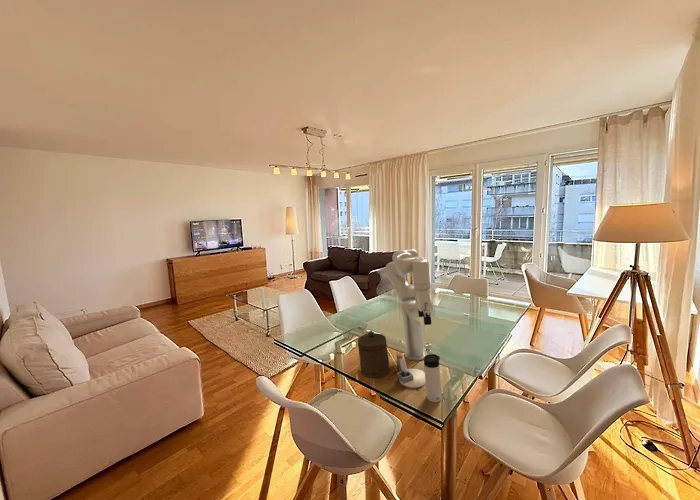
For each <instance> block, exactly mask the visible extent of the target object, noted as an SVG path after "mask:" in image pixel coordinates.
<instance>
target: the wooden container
mask: <svg viewBox="0 0 700 500" xmlns="http://www.w3.org/2000/svg"><path fill="white" fill-rule="evenodd" d="M357 346H358V348H357V349H358V355H359V357H358V358H359V366H360V372H361V374H362V375H363V376H364V377H365V378H368V379H369V378H370V379H379V378H383V377H385V376H386V375H388V374H389V372H390V361H389V355H388V354H389V353H388V347H387V338H386V336H385V335H384V334H381V333H375V332H374V331H372V330H371V331H369V332H367V333H365V334H363V335H361V336H359V338H358V339H357Z"/></svg>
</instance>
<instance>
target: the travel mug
mask: <svg viewBox="0 0 700 500" xmlns="http://www.w3.org/2000/svg"><path fill="white" fill-rule="evenodd" d="M440 359H441V357H440V356H439V355H437V354H435V353H434V354H433V353H431V354H427V355H426V356H425V358H424V359H423V367H424V372H425V381H426V384H425V390H426V399H427V400H428V401H430V402H433V403H439V402H441V401H442V399H443V391H442V382H441V381H442V380H441V367H440Z"/></svg>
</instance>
